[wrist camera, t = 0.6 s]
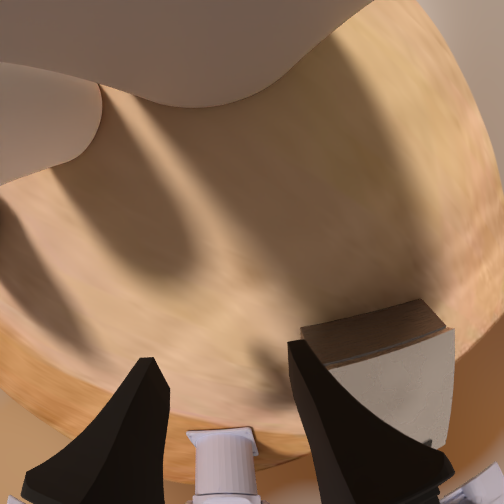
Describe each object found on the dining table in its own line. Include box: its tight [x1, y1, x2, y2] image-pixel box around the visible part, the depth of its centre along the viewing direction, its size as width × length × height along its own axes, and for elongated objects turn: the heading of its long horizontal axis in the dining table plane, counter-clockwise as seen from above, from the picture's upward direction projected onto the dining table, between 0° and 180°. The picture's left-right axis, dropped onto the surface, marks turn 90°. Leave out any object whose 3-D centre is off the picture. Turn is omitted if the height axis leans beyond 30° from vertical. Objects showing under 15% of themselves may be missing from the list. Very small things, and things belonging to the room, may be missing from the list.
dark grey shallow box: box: [300, 299, 446, 366], centre depth 22 cm, size 12×12×4 cm
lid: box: [325, 327, 455, 449], centre depth 16 cm, size 12×12×1 cm
